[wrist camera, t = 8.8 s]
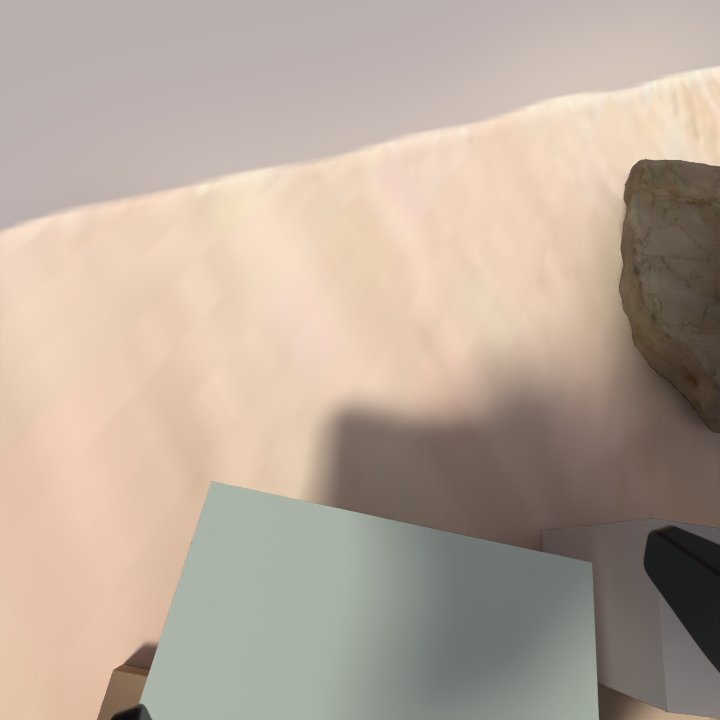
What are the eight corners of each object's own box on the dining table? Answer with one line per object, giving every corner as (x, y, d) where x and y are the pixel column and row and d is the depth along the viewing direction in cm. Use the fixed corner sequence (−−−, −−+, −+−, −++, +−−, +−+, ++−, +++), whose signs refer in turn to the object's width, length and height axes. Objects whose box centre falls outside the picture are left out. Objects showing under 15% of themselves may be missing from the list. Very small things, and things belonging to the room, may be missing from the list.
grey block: (660, 674, 21) (841, 733, 14) (543, 659, 21) (667, 712, 14) (650, 545, 23) (805, 541, 16) (542, 530, 22) (651, 518, 16)
